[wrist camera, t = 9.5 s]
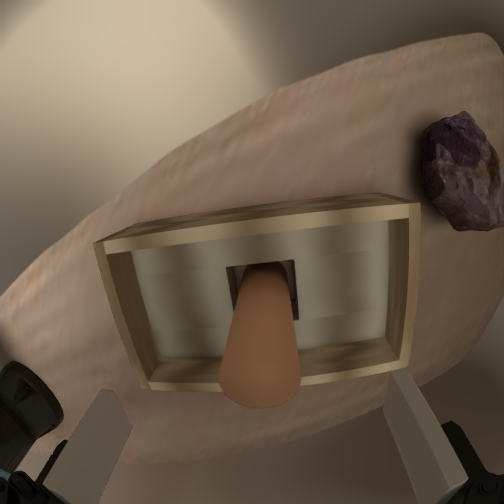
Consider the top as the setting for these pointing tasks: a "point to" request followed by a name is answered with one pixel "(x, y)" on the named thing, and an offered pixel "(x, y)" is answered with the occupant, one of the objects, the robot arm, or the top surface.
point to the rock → (463, 174)
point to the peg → (261, 341)
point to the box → (260, 251)
